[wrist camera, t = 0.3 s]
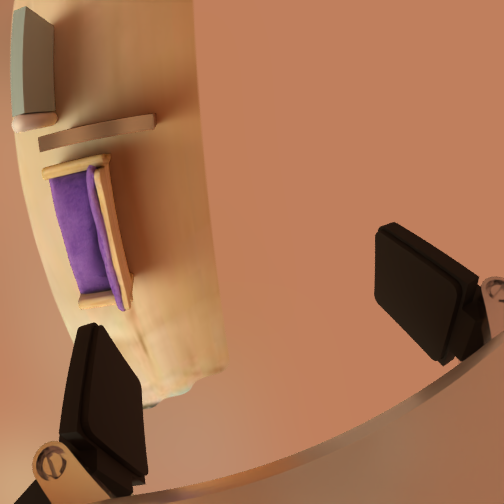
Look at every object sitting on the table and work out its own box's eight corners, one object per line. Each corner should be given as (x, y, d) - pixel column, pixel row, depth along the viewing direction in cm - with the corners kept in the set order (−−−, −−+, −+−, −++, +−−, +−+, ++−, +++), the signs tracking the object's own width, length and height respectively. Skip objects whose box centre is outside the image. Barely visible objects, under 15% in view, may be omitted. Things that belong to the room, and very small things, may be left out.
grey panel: (45, 127, 33) (12, 134, 23) (42, 30, 26) (12, 11, 17) (58, 124, 33) (27, 130, 24) (55, 26, 27) (27, 5, 17)
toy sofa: (55, 159, 36) (29, 175, 27) (111, 147, 38) (97, 158, 29) (86, 287, 45) (75, 326, 37) (135, 279, 47) (133, 318, 39)
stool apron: (70, 140, 35) (39, 152, 25) (68, 129, 34) (38, 137, 24) (156, 124, 38) (154, 129, 28) (155, 113, 37) (153, 113, 27)
